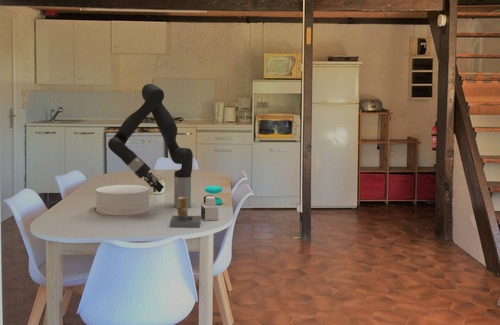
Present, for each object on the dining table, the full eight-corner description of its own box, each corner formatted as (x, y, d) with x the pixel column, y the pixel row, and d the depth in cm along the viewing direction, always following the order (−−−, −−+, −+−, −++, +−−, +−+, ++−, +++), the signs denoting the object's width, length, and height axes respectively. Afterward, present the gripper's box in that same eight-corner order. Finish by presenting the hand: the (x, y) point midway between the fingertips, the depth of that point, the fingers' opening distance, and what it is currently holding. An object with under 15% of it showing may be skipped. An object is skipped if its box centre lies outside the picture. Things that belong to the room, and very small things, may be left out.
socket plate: (169, 227, 266) (169, 222, 266) (172, 220, 280) (172, 215, 280) (199, 227, 267) (199, 222, 266) (200, 220, 281) (200, 215, 280)
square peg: (177, 217, 286) (177, 198, 285) (178, 215, 291) (178, 196, 290) (186, 217, 286) (187, 198, 285) (187, 215, 291) (187, 197, 290)
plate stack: (155, 205, 316) (155, 185, 314) (140, 216, 288) (140, 194, 287) (107, 203, 318) (106, 184, 317) (88, 214, 291) (87, 192, 289)
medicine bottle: (200, 218, 287) (201, 195, 285) (214, 217, 289) (214, 194, 288) (204, 221, 280) (204, 197, 278) (218, 220, 282) (218, 196, 281)
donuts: (225, 187, 320) (208, 188, 316) (224, 204, 321) (208, 206, 317) (218, 185, 329) (202, 185, 325) (218, 201, 330) (202, 202, 326)
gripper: (142, 164, 277) (165, 187, 279) (146, 160, 291) (168, 182, 293) (131, 174, 278) (154, 197, 279) (136, 170, 292) (158, 192, 294)
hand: (161, 189), depth 286 cm, fingers open, 8 cm apart
